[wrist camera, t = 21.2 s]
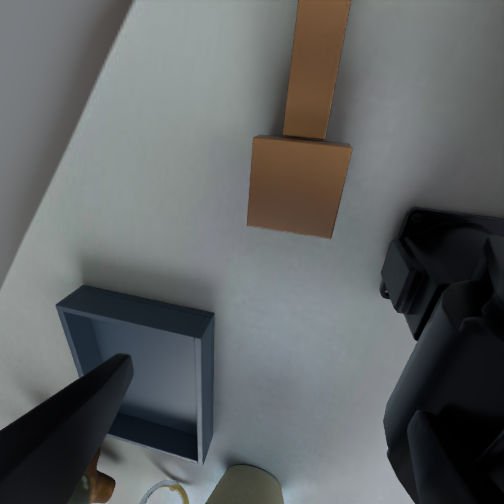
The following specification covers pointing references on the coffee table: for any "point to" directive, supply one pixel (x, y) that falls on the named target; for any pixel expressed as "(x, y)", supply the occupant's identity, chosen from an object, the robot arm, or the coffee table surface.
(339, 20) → the brush
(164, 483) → the ring
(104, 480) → the decorative turtle
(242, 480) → the plant pot
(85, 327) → the tray
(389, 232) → the coffee table surface
